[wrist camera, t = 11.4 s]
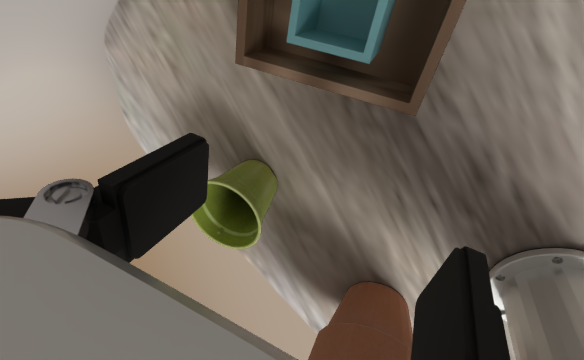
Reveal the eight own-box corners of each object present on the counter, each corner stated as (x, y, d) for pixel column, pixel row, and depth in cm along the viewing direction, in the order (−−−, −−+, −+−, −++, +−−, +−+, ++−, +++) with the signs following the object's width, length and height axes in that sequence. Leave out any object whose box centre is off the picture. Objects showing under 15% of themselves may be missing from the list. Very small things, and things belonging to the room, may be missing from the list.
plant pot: (227, 137, 38) (184, 169, 32) (294, 160, 36) (263, 199, 30) (226, 194, 44) (189, 231, 37) (285, 216, 42) (257, 260, 35)
